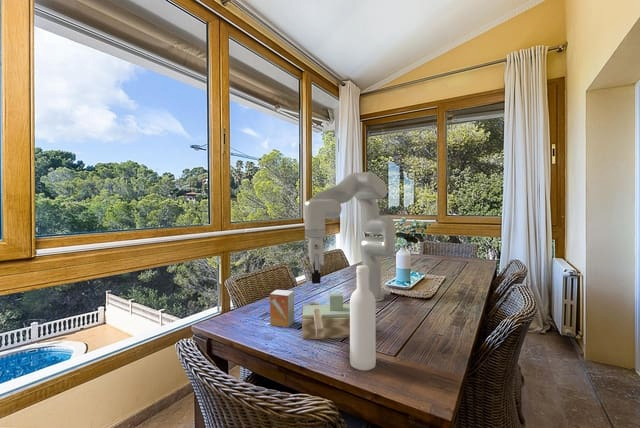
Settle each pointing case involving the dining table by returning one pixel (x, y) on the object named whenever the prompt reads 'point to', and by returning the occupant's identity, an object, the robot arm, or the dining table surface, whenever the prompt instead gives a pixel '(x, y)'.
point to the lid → (329, 308)
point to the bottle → (362, 323)
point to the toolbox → (326, 327)
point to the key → (318, 324)
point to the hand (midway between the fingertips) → (316, 282)
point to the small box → (282, 308)
